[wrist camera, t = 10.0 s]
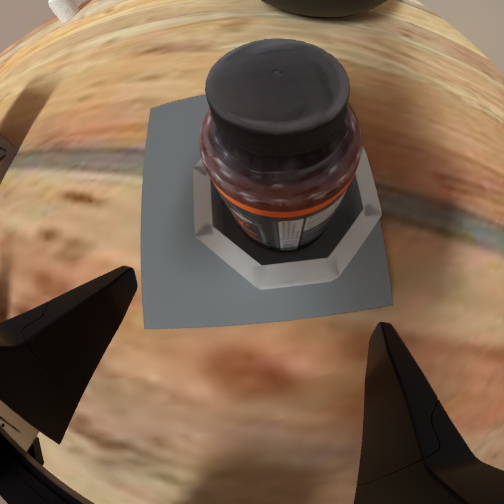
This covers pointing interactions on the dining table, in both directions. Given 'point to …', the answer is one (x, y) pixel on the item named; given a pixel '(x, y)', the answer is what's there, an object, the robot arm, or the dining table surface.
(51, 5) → the white plastic bottle
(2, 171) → the tissue box cover
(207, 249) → the collar mount
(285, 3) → the dark bowl with contents
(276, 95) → the supplement bottle
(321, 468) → the dining table surface
